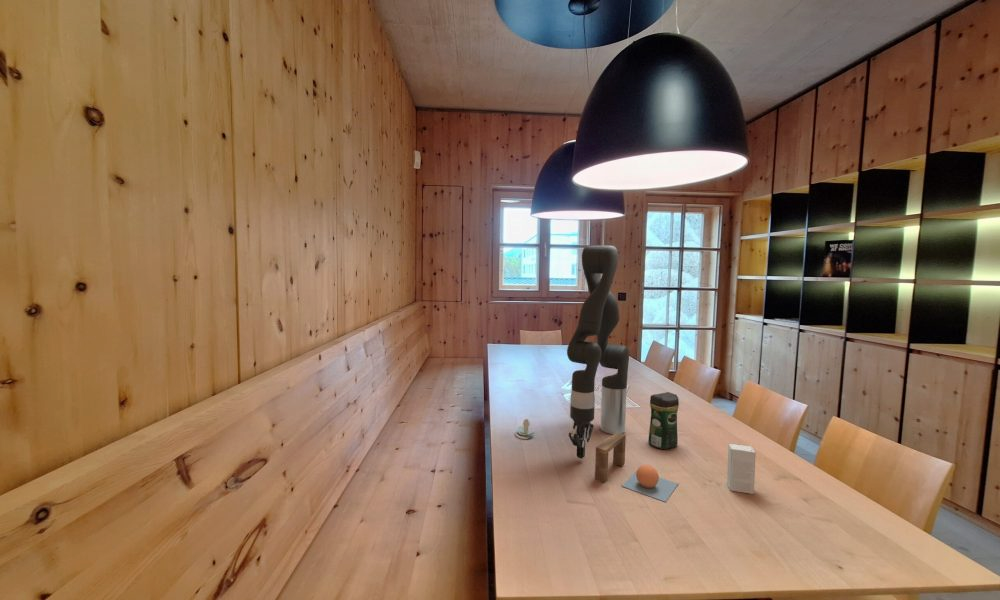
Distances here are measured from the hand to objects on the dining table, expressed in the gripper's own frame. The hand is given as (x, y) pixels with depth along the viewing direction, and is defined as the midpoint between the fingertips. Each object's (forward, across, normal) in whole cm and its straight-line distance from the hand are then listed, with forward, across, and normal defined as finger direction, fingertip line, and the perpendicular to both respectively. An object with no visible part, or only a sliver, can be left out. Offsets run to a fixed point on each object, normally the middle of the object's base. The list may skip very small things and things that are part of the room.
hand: (580, 457), depth 127 cm
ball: (-2, -1, -22) cm, 22 cm away
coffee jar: (+2, +31, -16) cm, 35 cm away
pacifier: (+2, +4, +26) cm, 26 cm away
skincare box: (+2, +15, -42) cm, 45 cm away
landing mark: (+2, 0, -22) cm, 22 cm away
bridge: (+2, 0, -10) cm, 10 cm away
